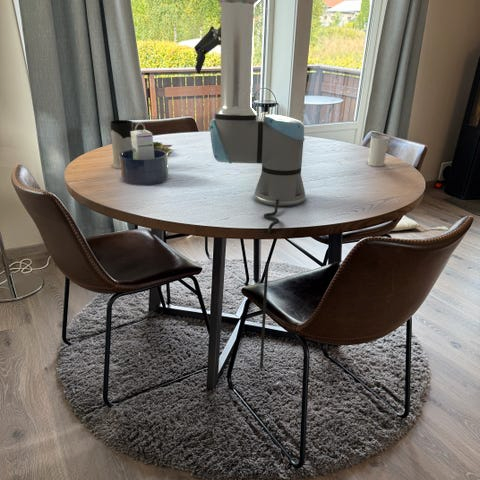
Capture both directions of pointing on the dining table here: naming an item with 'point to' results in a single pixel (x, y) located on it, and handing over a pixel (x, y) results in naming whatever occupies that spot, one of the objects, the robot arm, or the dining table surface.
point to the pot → (144, 168)
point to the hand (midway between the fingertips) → (216, 71)
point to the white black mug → (121, 138)
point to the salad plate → (163, 147)
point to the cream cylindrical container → (378, 150)
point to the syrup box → (142, 144)
